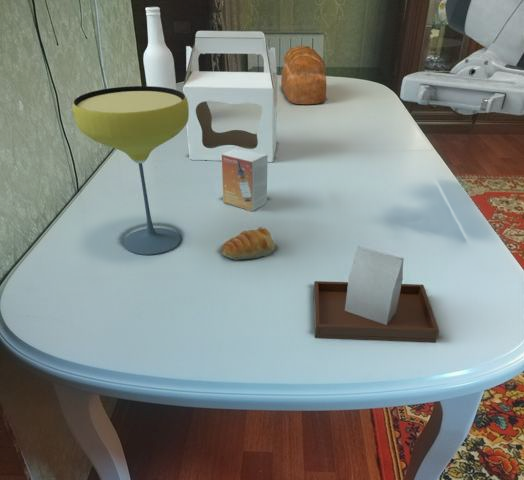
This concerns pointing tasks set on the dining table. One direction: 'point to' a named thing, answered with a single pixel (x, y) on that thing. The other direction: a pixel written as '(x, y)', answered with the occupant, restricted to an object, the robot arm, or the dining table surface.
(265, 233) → the pastry
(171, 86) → the alcohol
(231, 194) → the small box
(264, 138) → the gable box
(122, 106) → the cocktail glass
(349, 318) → the tray
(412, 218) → the dining table surface
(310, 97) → the bread
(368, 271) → the grey rectangular block
